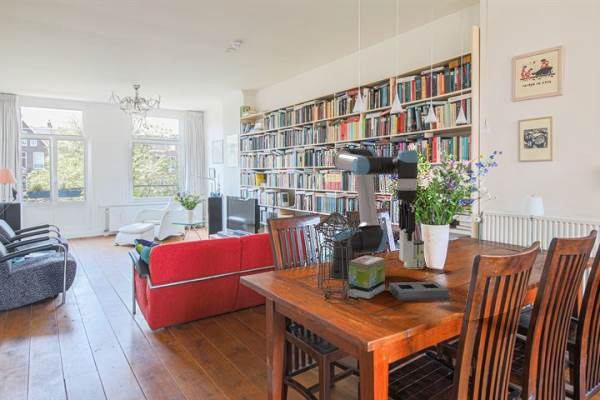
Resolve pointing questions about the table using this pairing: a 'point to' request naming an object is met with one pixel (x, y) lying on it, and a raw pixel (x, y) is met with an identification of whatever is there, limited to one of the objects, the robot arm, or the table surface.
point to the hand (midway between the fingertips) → (406, 247)
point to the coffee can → (416, 256)
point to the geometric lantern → (318, 227)
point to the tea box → (366, 276)
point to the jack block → (418, 291)
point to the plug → (404, 253)
